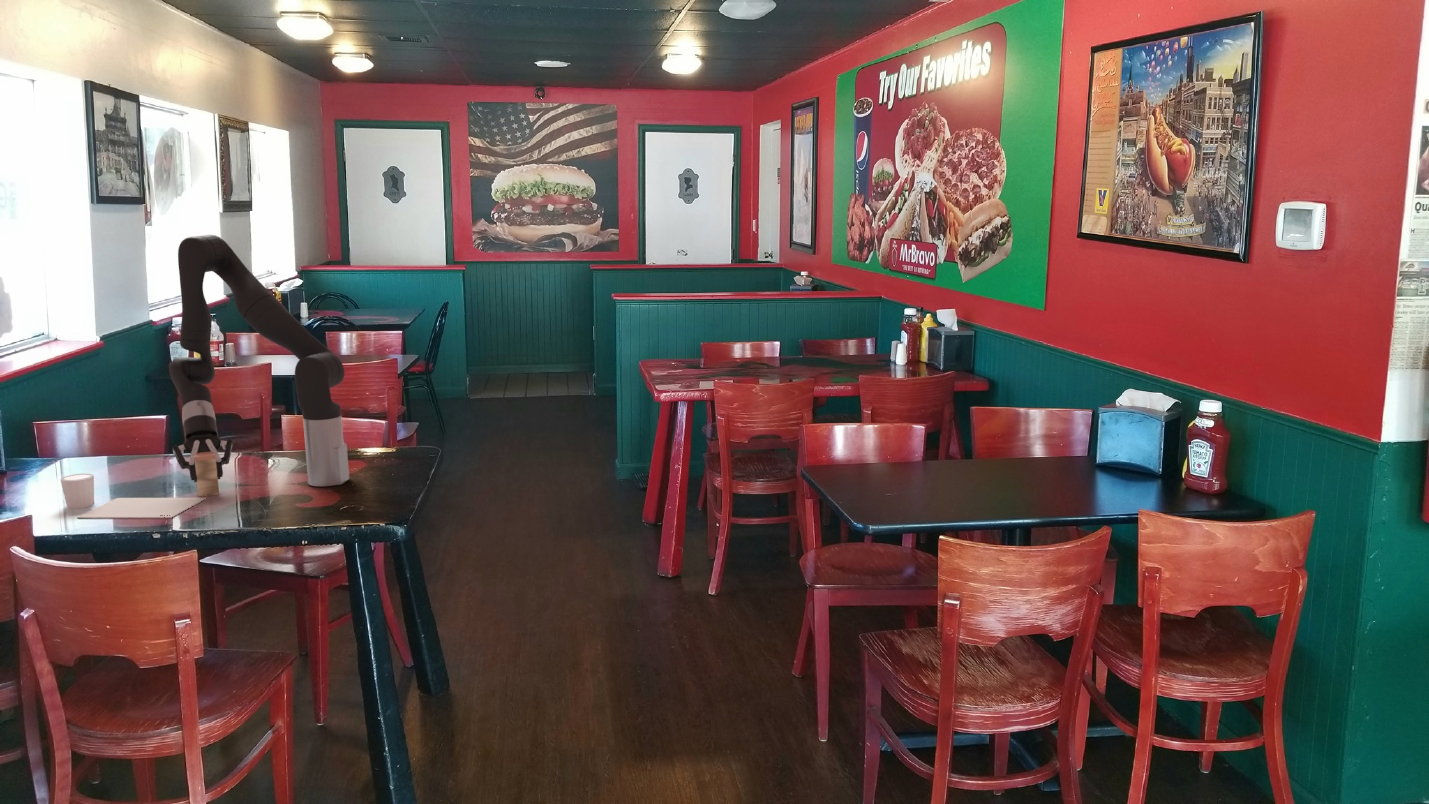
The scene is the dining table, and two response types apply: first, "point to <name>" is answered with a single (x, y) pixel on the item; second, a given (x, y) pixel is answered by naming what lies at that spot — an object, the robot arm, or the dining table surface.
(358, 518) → the dining table surface
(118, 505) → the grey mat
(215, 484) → the birch block
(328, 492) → the dining table surface
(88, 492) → the beige tapered cup
